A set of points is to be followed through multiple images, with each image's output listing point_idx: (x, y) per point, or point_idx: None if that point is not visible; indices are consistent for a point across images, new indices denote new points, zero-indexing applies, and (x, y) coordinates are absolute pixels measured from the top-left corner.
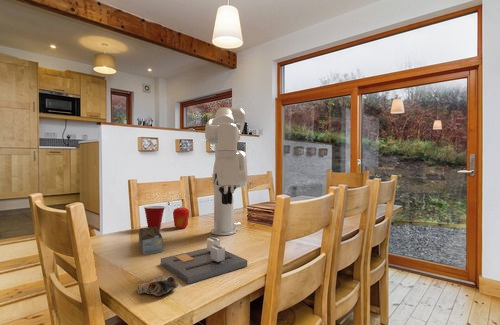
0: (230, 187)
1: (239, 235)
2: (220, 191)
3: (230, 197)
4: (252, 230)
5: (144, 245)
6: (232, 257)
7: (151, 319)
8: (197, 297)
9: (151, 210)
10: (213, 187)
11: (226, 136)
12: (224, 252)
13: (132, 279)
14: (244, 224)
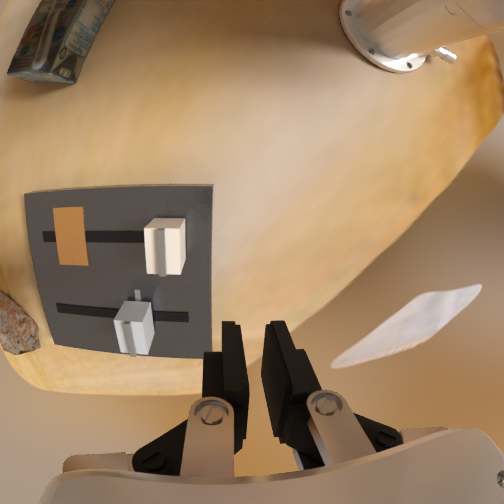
0: (358, 448)
1: (404, 100)
2: (173, 439)
3: (270, 414)
4: (460, 101)
5: (20, 77)
6: (190, 322)
7: (18, 373)
8: (68, 377)
9: None
10: (65, 461)
11: None
12: (149, 345)
13: None
14: (472, 42)
